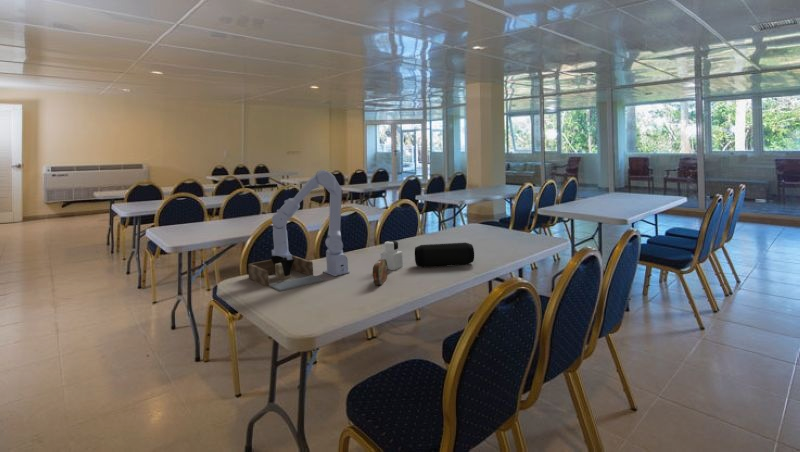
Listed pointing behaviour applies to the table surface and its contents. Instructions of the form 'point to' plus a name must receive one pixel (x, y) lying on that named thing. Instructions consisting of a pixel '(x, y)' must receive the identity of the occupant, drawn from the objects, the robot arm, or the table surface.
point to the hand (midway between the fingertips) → (283, 273)
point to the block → (280, 272)
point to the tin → (380, 272)
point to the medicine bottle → (392, 255)
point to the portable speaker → (444, 254)
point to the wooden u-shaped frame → (264, 268)
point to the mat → (296, 283)
